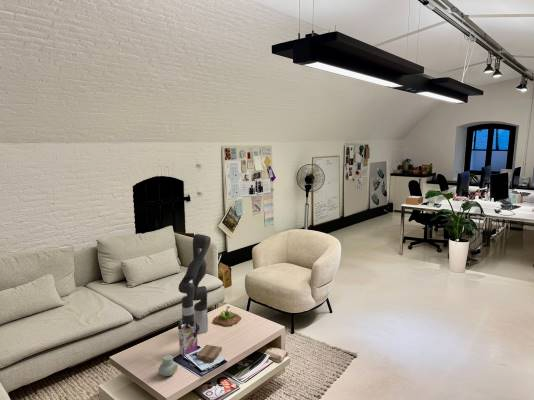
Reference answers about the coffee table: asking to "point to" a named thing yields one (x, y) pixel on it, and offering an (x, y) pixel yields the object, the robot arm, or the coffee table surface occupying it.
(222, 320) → the plant
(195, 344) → the candy bar box
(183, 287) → the robot arm
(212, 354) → the walnut plinth
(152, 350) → the coffee table surface
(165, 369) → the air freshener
